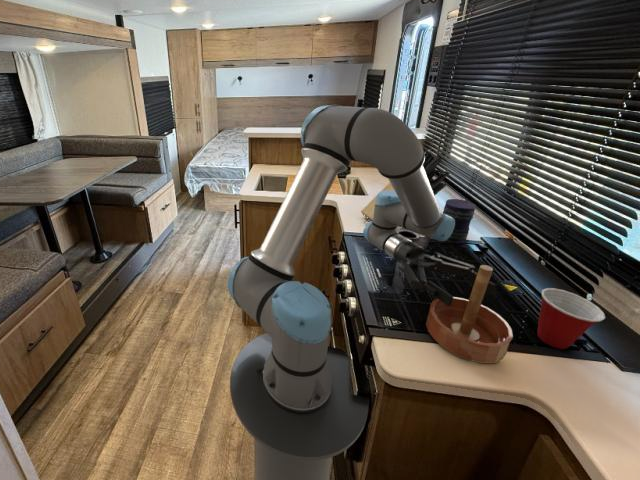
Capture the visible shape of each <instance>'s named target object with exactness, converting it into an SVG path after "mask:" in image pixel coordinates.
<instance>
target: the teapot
mask: <svg viewBox="0 0 640 480" xmlns="http://www.w3.org/2000/svg"><path fill="white" fill-rule="evenodd" d="M396 232H397V233H399V234H400V235H402V236H404V237H406V238H407V239H409V240H411V241H412V242H414V243H416V244H417V245H419V246H421V247H422V248H423V249H424V250H426V249H427V247H428V245H429V243H430V241H432V239H430V238H428V237H426V236H421V235H420V234H418V233H415V232H413V231H410V230H407V229H405V228H402V227H400V228H397V230H396Z"/></svg>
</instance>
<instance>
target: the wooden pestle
mask: <svg viewBox="0 0 640 480" xmlns="http://www.w3.org/2000/svg"><path fill="white" fill-rule="evenodd" d="M493 271H494V269H493V267H491V266H490V265H486V264H481V265H479V268H478V271H477V277H476V280H475V283H474V284H473V286H472V290H471V292H470V295H469V298H468V300H469V301H468V304H467V307H466V310H465V313H464V316H463V319H462V322H461V323H459V322H456V323H453V324H452V325H451V327H450V330H451V331H453V332H455V333H457V334H458V335H460V336H462V337H465V338H468V339H470V340H473V341H477V342H478V341H479V338H480V335H479V333H478V332H477V330H475V329H474V328H473V326H474V323H475V320H476V317H477V314H478V312H479V309H480V306H481V305H482V302H483V300H484V297H485V294H486V293H487V292H486V289H487V286H488V283H489V281H490V280H491V277H492V274H493Z"/></svg>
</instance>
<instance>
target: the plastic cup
mask: <svg viewBox="0 0 640 480" xmlns="http://www.w3.org/2000/svg"><path fill="white" fill-rule="evenodd" d="M539 311H540V312H539V316H538V325H537V332H536V334H537V337H538V338H539V340H540V341H542V342H543V343H544V344H546V345H548V346H550V347H552V348H554V349H560V350H567V349H568V348H569V347H571V346H572V345H573V344H574V343H575V342H576V341H578V340H579V339H580V337H581V336H582V335H584V334H585V333H586V332H587V330H589V329H590V328H591V327H592V326H594V324H596V323H600V322H602V321H603V320H605V319H606V315H605V313H604V311H603V310H602V309H601V308H600V307H599V306H597V305H596V304H594V303H593V302H591V301H590V300H588V299H586V298H584V297H582V296H580V295H578V294H576V293H573V292H570V291H568V290H564V289H559V288H555V287H547V288H544V289H542V290H541V306H540V310H539Z"/></svg>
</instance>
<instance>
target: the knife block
mask: <svg viewBox="0 0 640 480" xmlns="http://www.w3.org/2000/svg"><path fill="white" fill-rule="evenodd" d="M424 154H425V160H424V163H423V167H424V170H425V172H426V175H427V178H428V180H429V183H430V186H431V188H432V191H433V194H434V196H437V195H438V193H440V192H441V191H442V190H443V189H444V188H446V187H447V183H444V182H443V181H444V180H445V179H446V177H448V176H449V175H450V174H451V172H449V171H448V170H446V171H444V172H442V170H440V169H436V167H437V166H438V165H439V164H440V163H441V162H442V158H440V157H439V156H437V157H435V155H434V154H432V151H431V150H430V149H427V150H425V151H424ZM437 173H439V174H438V176H437V177H436V178H434V176H436V174H437ZM385 190H391V191H395V190H394V188H393V186H392V185H391V183H390V181H389V182H388V183H387V184H386V186H384V187H383V188H382V190H381V191H385ZM376 198H377V195H375V196H374V197H373V198H372V199H371V200H370V201H369V202H368V204H367V205H366V206H365V207H363V208H362V209H361V210H360V213H361V214H362V216H364V215H365V216H364V217H366V218H367V217H368V218H369V219H368V218H367V219H368V220H369V221H371V220H372V221H373V215H374V209H375V202H376Z"/></svg>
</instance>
